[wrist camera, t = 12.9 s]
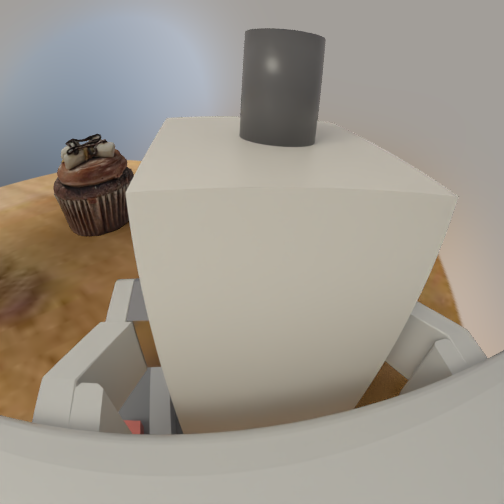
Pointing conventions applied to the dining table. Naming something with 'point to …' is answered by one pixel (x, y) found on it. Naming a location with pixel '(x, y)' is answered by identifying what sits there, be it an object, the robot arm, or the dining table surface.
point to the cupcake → (93, 186)
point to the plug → (277, 249)
